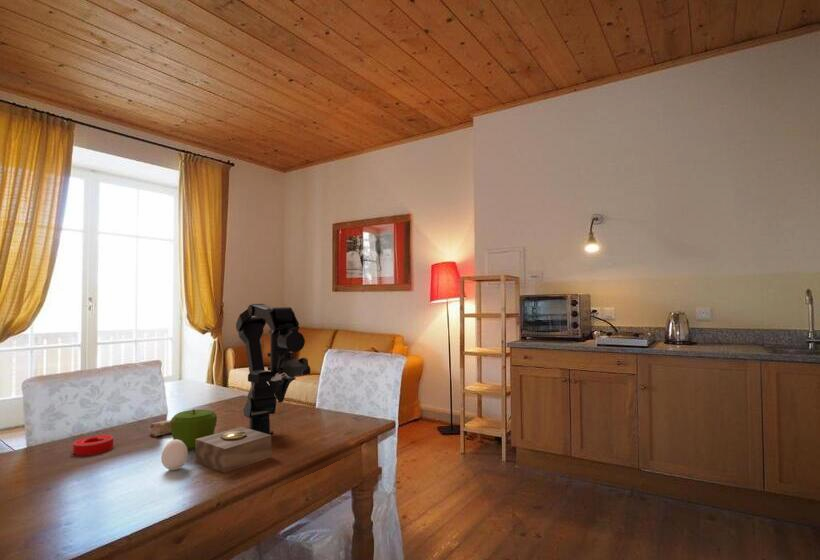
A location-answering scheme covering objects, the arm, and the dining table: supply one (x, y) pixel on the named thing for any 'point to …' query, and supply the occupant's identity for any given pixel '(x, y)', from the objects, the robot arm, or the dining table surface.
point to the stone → (160, 428)
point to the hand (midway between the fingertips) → (280, 402)
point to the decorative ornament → (93, 445)
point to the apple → (193, 426)
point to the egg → (174, 455)
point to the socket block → (232, 450)
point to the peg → (233, 435)
